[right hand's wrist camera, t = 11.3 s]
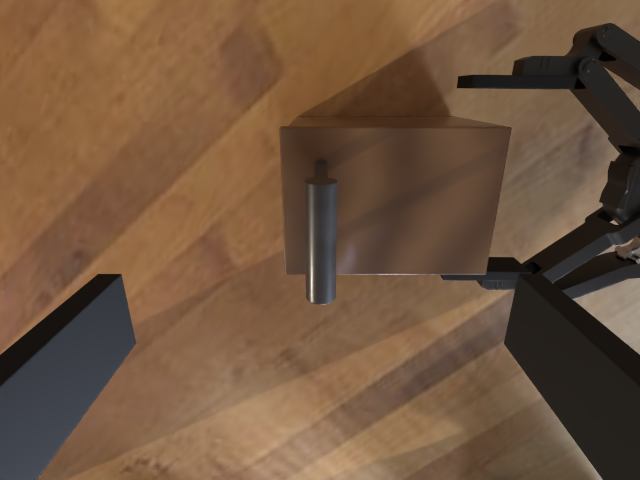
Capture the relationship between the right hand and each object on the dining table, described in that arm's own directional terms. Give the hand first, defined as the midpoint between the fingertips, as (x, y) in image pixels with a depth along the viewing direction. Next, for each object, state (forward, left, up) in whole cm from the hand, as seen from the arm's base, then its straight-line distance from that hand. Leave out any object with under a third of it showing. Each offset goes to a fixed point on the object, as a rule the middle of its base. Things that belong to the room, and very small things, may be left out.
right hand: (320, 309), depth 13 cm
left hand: (-3, -9, -16) cm, 19 cm away
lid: (-2, -4, -13) cm, 14 cm away
